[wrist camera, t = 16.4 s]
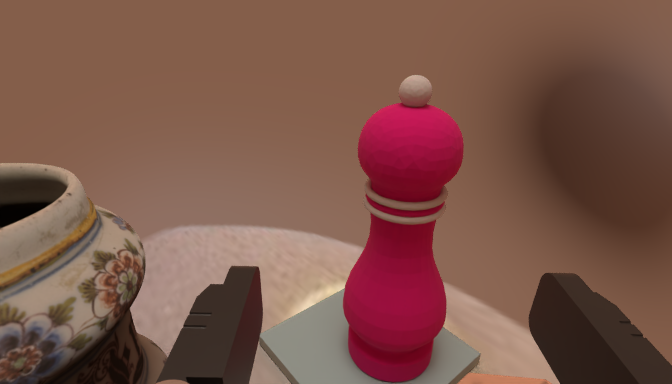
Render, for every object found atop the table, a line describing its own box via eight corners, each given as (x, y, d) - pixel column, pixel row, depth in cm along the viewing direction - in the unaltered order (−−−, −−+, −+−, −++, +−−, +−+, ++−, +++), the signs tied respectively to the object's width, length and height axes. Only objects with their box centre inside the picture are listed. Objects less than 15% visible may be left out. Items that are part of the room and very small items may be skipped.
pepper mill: (425, 313, 32) (463, 67, 24) (449, 390, 26) (513, 88, 17) (340, 313, 32) (347, 65, 24) (342, 390, 26) (353, 86, 17)
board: (259, 344, 30) (258, 334, 30) (368, 283, 37) (369, 275, 37) (363, 471, 22) (364, 460, 22) (478, 363, 29) (480, 353, 29)
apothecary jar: (213, 391, 27) (168, 144, 19) (148, 654, 16) (-20, 325, 8) (31, 400, 26) (-93, 146, 18) (-169, 681, 15) (-687, 348, 7)
